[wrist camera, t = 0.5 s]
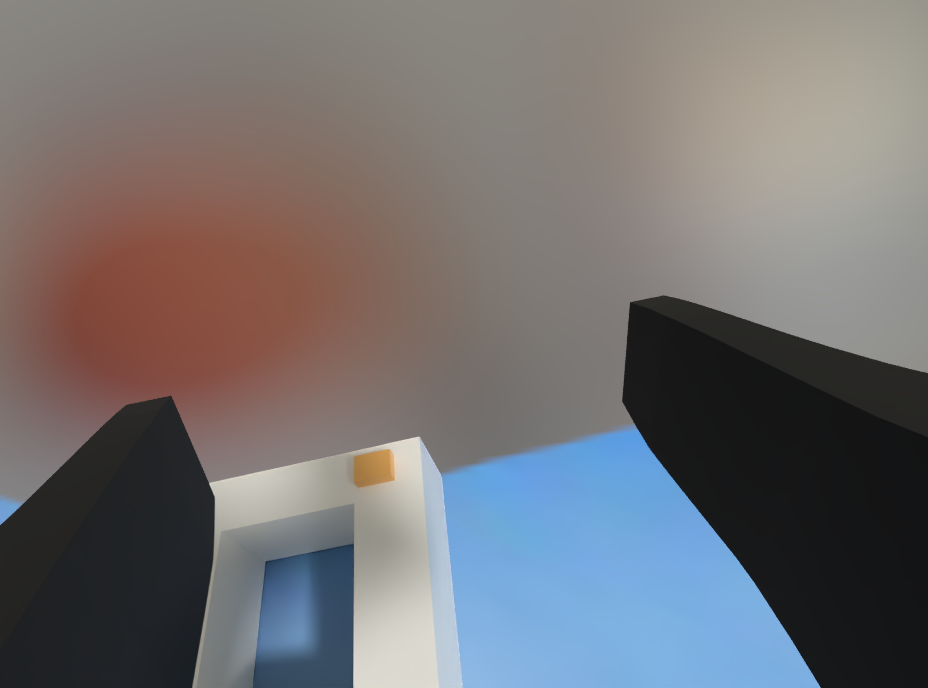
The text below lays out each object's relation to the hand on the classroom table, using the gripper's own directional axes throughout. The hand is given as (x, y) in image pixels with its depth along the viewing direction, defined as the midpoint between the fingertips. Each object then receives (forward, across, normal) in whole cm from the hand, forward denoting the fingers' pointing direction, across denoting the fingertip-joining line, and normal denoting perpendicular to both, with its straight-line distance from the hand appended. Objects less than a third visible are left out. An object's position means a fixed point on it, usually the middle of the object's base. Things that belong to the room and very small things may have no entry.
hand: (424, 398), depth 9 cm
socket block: (+9, +5, +18) cm, 21 cm away
